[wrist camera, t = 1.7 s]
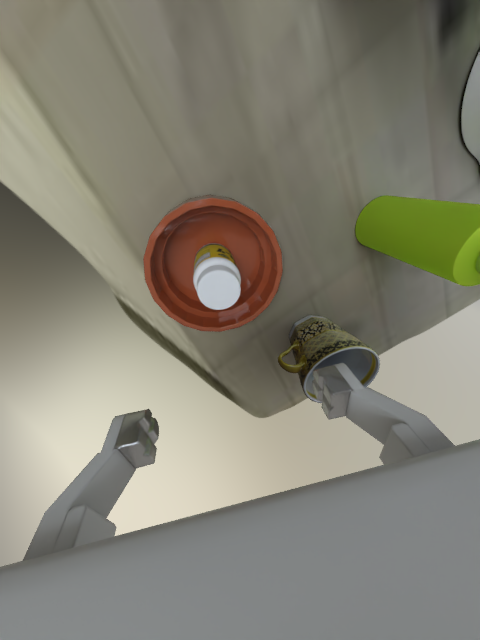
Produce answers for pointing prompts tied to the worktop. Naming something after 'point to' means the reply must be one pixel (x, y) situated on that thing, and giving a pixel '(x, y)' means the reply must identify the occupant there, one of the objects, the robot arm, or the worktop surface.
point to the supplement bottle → (216, 277)
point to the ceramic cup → (327, 352)
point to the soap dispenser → (425, 235)
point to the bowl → (185, 241)
